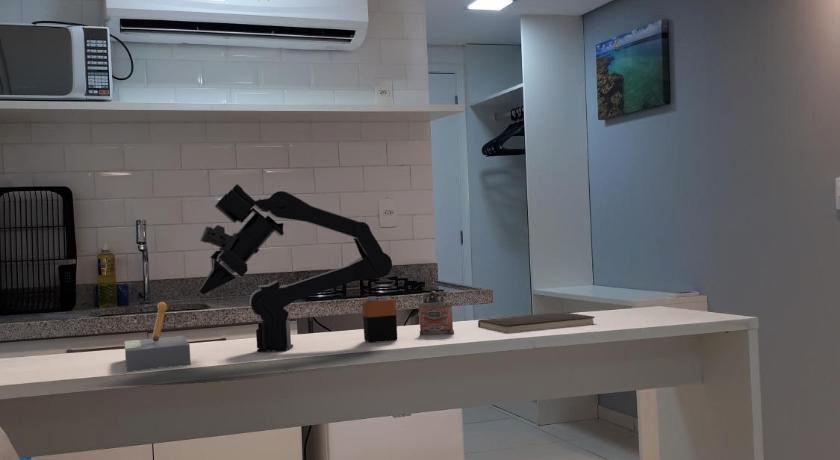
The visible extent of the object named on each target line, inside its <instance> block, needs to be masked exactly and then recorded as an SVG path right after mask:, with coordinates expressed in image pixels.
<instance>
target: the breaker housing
mask: <svg viewBox="0 0 840 460" xmlns="http://www.w3.org/2000/svg"><path fill="white" fill-rule="evenodd" d="M190 348H191V347H190V343H189V342H188V341H187V339H186V338H185V337H184V335H177V336H167V337H159V340H158V341H157V342H155V341H153V339H152V338H146V339H145V338H144V339H134V340H133V339H132V340H124V354H125V356H124V357H125V369H126V372H134V371H135V370H136V371H143V369H145V370H152V369H151V368H154V369H160V368H159V367H164V368H170V367H169V366H173V367H179V365H182V366H189V365H188V364H191V350H190Z"/></svg>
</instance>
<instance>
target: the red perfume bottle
mask: <svg viewBox="0 0 840 460" xmlns="http://www.w3.org/2000/svg"><path fill="white" fill-rule="evenodd" d="M449 295H450V293H449V291H435V290H432V291H429V292H423V293H422V299H423V301H421V302H418V303H417V306H418V312H419V313H418V314H419V315H418V316H419V329H420V330H419V336H448V335H450V336H451V335H454V334H455V331H454V330H455V329H454V325H453V324H454V322H453V307H452V305H453V301H451V300H445V301H444V299H445V298H449Z"/></svg>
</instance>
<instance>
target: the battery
mask: <svg viewBox="0 0 840 460" xmlns="http://www.w3.org/2000/svg"><path fill="white" fill-rule="evenodd" d="M361 304H362V320H363V336H364V337H363V338H364V341H365V342H367V343H370V344H371V343H381V342H391V341H392V342H393V341H397V340H398V325H397V324H398V321H397V306H396V305H397V303H396V300H395V299H393V298H391V297H390V295H386V296H385V295H383V296H382V298H381V299H379V298H378V299H377V296H366V300H363V301H362V303H361Z"/></svg>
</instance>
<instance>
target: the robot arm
mask: <svg viewBox="0 0 840 460" xmlns="http://www.w3.org/2000/svg"><path fill="white" fill-rule="evenodd" d="M214 208H216V209H217V210H218V211H219V212H220V213H222V214H223V216H225V217H226V218H227V219H228V220H229V221H230V222H231V223H233V224H236V223H237V222H239V223H240V224H243V223H244V222H245V220H246V219H247V218H248V217H249V216H250V215H251V214H253V215H252V216H251V217H250V219H248V221H246V223H245V224H244V225H243V226H242V227H241V228H240V229H239V230H238V232H234V233H233V234H231V235H230V234H228V233H226V232H225V231H226V230H225V227H223V226H222V225H219V224H217V225H216V226H215V227H210V226H206V227H205V228H204V231H203V233H202V235H201V238H200V242H202V243H207V244H211V245H213V246H216V247H219V249H218V250H214V251H213V252H212V253H211V255H210V256H209V258H210V263H211V265H210V267H211V270H210V271H209V273H208V275H207V277H206V279H204V282H203V283H202V286H201V287H200V288H199V293H200V294H201V295H206V294H208V293H209V292H211V291H213V290H215V289H217V288H219V287H221V286H223V285H225V284H226V283H229V282H231V281H233V280H235V279H236V276H235V275H234V274H237V276H238V277H239V278H243V276H244V275H245V274H246V273H247V272H248V264H247V263H248V262H249V260H250V259H251V258H252V257H253V256H254V255H257V254H258V252H259V251H260V248H261V247H262V246H263V245H264V244H265V243H266V242H267V240H269V238H270V237H271V236H272V235H273V234H274V233H275V234H276V235H277V236H278V237H282V236H284V234H285V232H284V225H285V224H284V223H283V222H282V223H278V222H277V221H275V219H279V220H287V221H288V220H289V221H295V222H303V223H307V224H309V225H310V224H311V225H314V226H316V227H320V228H323V229H326V230H329V231H333V232H335V233H339V234H341V235H345V236H347V237H350V238H352V239H353V241H354V243H355V246H356V248H357V250H358V253H359V255H360V257H359V258H357V259H355V260H354V261H352V262H350V263H349V264H347V265H344V266H342V267H338V268H335V269H333V270H330V271H327V272H323V273H321V274H318V275H314V276H312V277H308V278H305V279H302V280H299V281H297V282H292V283H290V284H286V285H285V284H284V285H280V281H278V280H274V281H272V282H270V283H269V284H266V285H265V284H264V285H258V287H259V288H258V289H256V290H254V291H253V292H252V293H251V295H250V297H249V306H250V308H251V310H252V312H253V313H254V314H256V315H258V316H259V317H260V320H261V321H258V322H257V327H258V328H257V329H256V331H255V333H256V334H255V335H256V352H258V353H259V352H260V353H261V352H285V351H288V350H290V349H291V348H293V347H294V344H293V343H292V340H291V338H292V336H291V320H290V319H288V317H289V312H288V310H286V309H285V308H286V307H287V306H289V305H290V304H292V303H294V302H296V301H298V300H302V299H305V298H308V297H311V296H314V295H316V294H319V293H322V292H325V291H329V290H332V289H335V288H338V287H340V286H343V285H347V284H350V283H353V282H357V281H358V282H359V281H365V280H366V281H368V280H374V279H381V278H384V277H386V276H389V274H390V273H391V271H392V268H393V261H392V259H391V257H390V256H389V254H388V253H385V252H384V251H383V248H381V245H380V244H379V242H378V240H377V239H376V238H375V236H374V235H373V232H372V230H371V228H370V225H369V224H367V223H366V222H364V221H358V220H355V219H351V218H349V217H346V216H343V215H339V214H336V213H333V212H330V211H327V210H324V209H322V208H319V207H315V206H312V205H310V204H309V203H307V202H306V201H304V200H302V199H301V198H299V197H297V196H295V195H293V194H291V193H290V192H288V191H285V190H284V191H283V190H281V191H276V192H274V193H272V194H271V195H270V197H268V198H263V199H261V198H259V199H258V200H255V199H254V198H253V197H251V196H250V195H249V194H248V193H247V192H246V191H245V190H243V188H242V187H241V185H240V184H237V183H236V184H235V185H234V186H233V187H232V188H231V189H230V190H229V192H227V193H225V194H224V195H223V197H222V198H220V200H218V202H217V203H216V204H215V205H214ZM260 212H263V213H264V212H265V213H268V214H269V215H266V216H264V215H263V214H261V213H260ZM270 216H272V217H273V218H275V219H273V218H272V217H270Z"/></svg>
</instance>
